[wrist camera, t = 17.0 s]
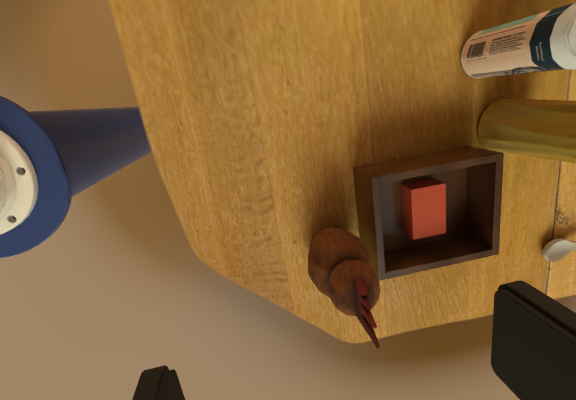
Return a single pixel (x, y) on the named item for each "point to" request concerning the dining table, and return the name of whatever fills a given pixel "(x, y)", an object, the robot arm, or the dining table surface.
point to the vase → (530, 128)
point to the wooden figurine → (345, 274)
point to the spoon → (558, 249)
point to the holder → (459, 210)
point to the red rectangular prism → (424, 208)
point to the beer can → (524, 45)
